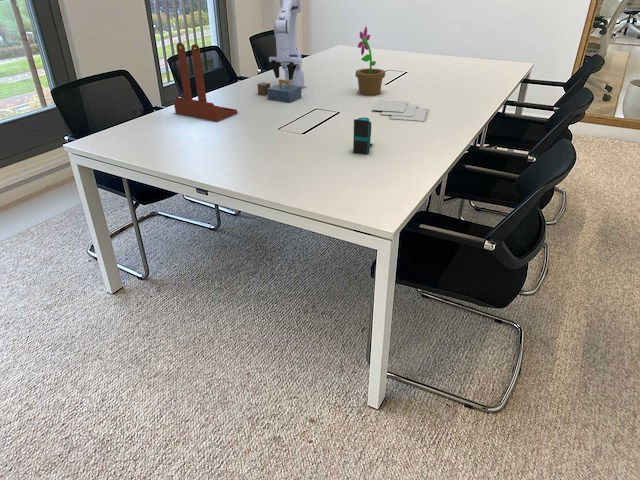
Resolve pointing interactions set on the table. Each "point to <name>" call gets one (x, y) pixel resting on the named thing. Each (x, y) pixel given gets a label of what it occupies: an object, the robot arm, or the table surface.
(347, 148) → the table surface
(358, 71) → the flowerpot
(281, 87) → the lid
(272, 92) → the tin box
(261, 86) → the walnut block
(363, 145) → the black teal block
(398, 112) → the paper stack
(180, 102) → the hanging shelf
